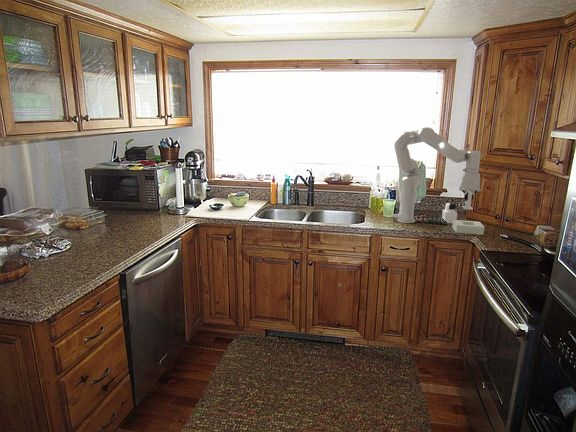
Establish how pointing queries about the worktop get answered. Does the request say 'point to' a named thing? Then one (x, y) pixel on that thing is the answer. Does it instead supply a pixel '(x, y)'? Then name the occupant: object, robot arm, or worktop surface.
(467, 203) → the bracket
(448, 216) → the container
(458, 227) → the well block
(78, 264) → the worktop surface
